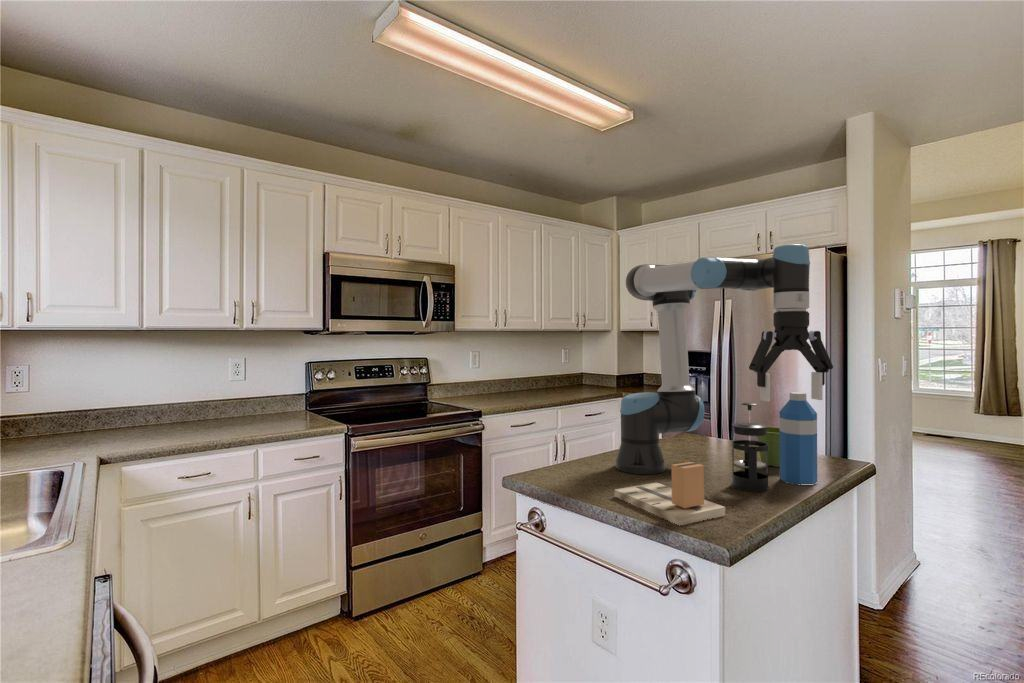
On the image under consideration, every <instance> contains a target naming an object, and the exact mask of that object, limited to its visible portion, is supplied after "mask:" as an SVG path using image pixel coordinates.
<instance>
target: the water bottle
mask: <svg viewBox="0 0 1024 683" xmlns="http://www.w3.org/2000/svg"><path fill="white" fill-rule="evenodd" d="M779 428H780V467H779V480H780V479H781V480H783V481H785V482H788V483H793V484H792V485H794V484H800V485H801V484H814V483H816V482H817V483H818V413H817V412H816V410H815V409H814V407H812V404H810V403H809V402H808V400H807V392H806V393H805V392H798V391H797V392H793V391H792V392H789V400H788V401H787V402H786V403H785V405H784V406H783V407H782V408H781V409H780V411H779ZM781 480H780V481H781ZM783 481H782V482H783ZM785 482H784V483H785ZM788 483H787V484H788Z"/></svg>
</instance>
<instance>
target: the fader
mask: <svg viewBox="0 0 1024 683" xmlns="http://www.w3.org/2000/svg"><path fill="white" fill-rule="evenodd" d="M704 470H705V465H704V464H700V463H699V462H692V461H688V462H686V461H685V462H681V463H680V462H679V463H673V464H671V488H672V504H675V505H677V506H680V507H682V508H689V507H694V506H699V505H704V500H705V471H704Z"/></svg>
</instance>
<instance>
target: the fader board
mask: <svg viewBox="0 0 1024 683" xmlns="http://www.w3.org/2000/svg"><path fill="white" fill-rule="evenodd" d="M613 493H614V494H613V496H615V497H618V498H620V499H622V500H624V501H627V502H629V503H631V504H633V505H636V506H637V507H636V508H638V507H640V508H642V509H644V510H646V511H645V512H647V511H648V512H647V513H649V512H651V513H653V514H655V515H654V516H656V515H657V516H656V517H658V516H659V517H658V518H660V517H661V518H660V519H662V518H664V519H663V520H665V519H666V520H665V521H667V520H668V521H667V522H669V521H670V523H672V522H673V523H672V524H674V523H675V524H674V525H676V524H677V525H676V526H678V525H679V526H678V527H680V525H681V526H685V525H689V524H694V522H695V523H699V522H703V520H704V521H708V520H713V519H717V518H722V517H726V506H723V505H721V504H717V503H715V502H712V501H709V500H706V499H704V505H699V506H694V507H689V508H682V507H680V506H677V505H675V504H672V486H671V487H670V486H668V485H665V484H662V483H659V482H651V483H645V484H639V485H633V486H632V485H631V486H626V487H621V488H615V489H614V490H613ZM615 497H614V498H615ZM620 499H619V500H620ZM622 500H621V501H622ZM624 501H623V502H624ZM629 503H628V504H629ZM631 504H630V505H631ZM633 505H632V506H633ZM640 508H639V509H640ZM642 509H641V510H642ZM644 510H643V511H644ZM651 513H650V514H651ZM653 514H652V515H653ZM712 518H713V519H712ZM707 519H708V520H707Z"/></svg>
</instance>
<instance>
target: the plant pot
mask: <svg viewBox="0 0 1024 683" xmlns="http://www.w3.org/2000/svg"><path fill="white" fill-rule="evenodd" d="M756 438H757V441H760V442H764V443H767V444H768V467H769V466H771V467H774V468H780V426H779V427H778V426H768V428H767V429H766V435H763V436H756ZM759 457H760V462H763V463H765V464H766V451H760V452H759Z"/></svg>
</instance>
